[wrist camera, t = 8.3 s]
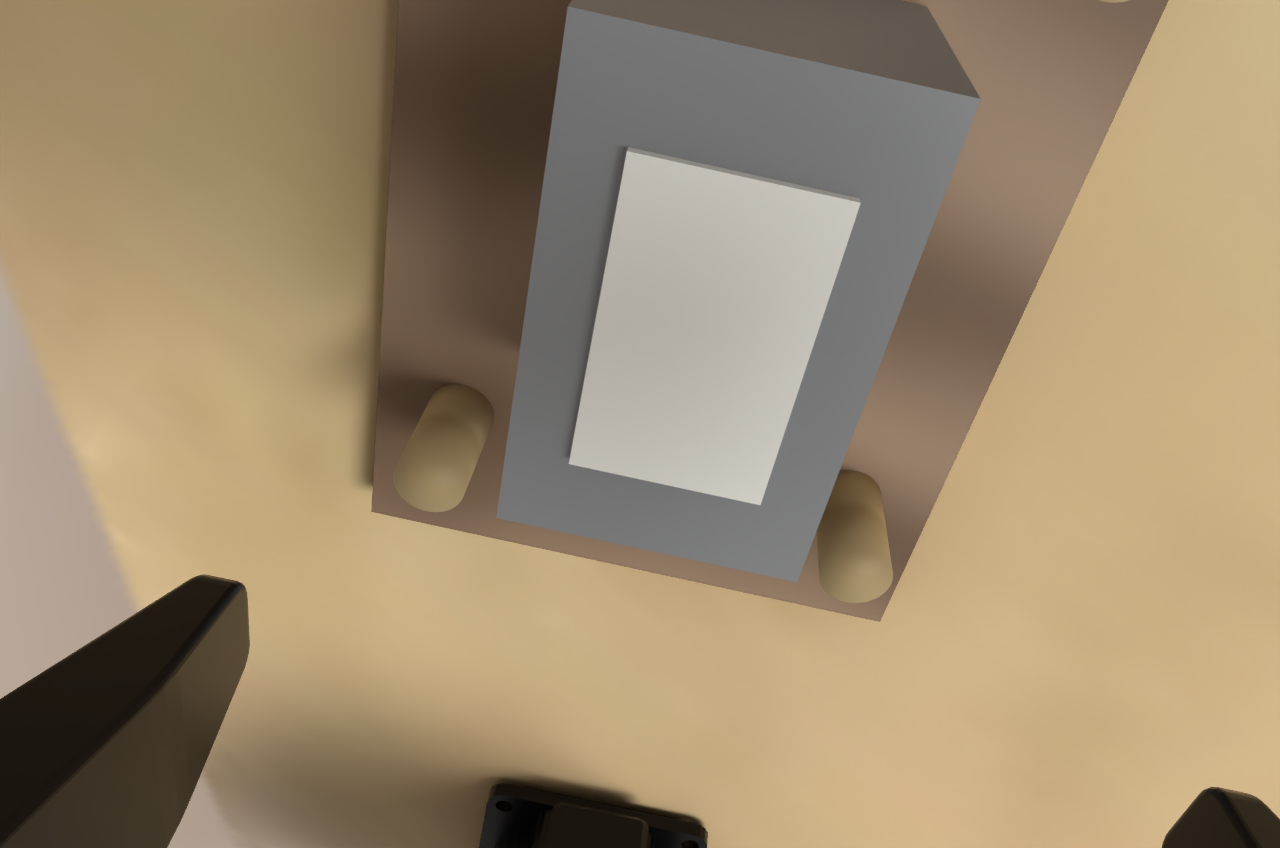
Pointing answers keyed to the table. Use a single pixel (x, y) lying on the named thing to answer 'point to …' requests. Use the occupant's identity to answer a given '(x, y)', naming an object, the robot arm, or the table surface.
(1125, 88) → the wooden peg board
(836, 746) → the table surface
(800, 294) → the block
